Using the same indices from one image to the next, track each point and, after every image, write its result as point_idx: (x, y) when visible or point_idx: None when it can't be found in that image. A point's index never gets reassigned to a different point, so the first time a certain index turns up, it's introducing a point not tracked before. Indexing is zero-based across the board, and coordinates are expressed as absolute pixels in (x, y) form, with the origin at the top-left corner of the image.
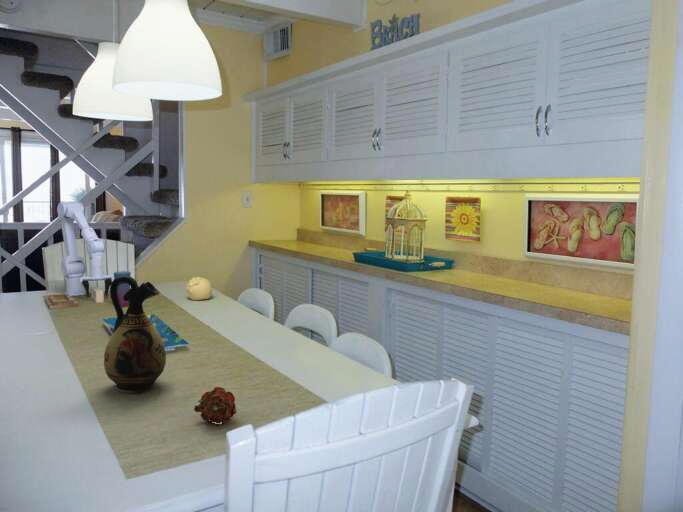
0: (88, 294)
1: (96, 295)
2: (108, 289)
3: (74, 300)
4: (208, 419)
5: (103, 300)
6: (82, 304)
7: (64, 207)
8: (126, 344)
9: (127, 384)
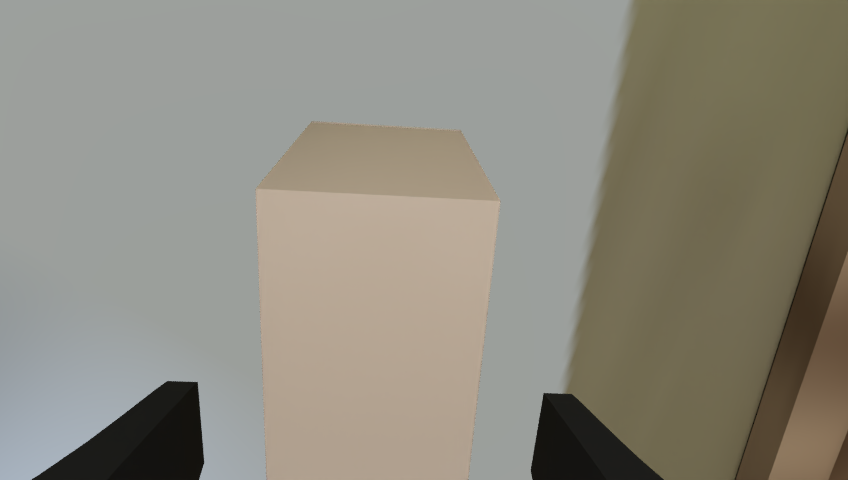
0: (587, 422)
1: (477, 169)
2: (55, 465)
3: (832, 341)
4: None
5: (309, 125)
6: (764, 80)
7: None
8: None
9: None
